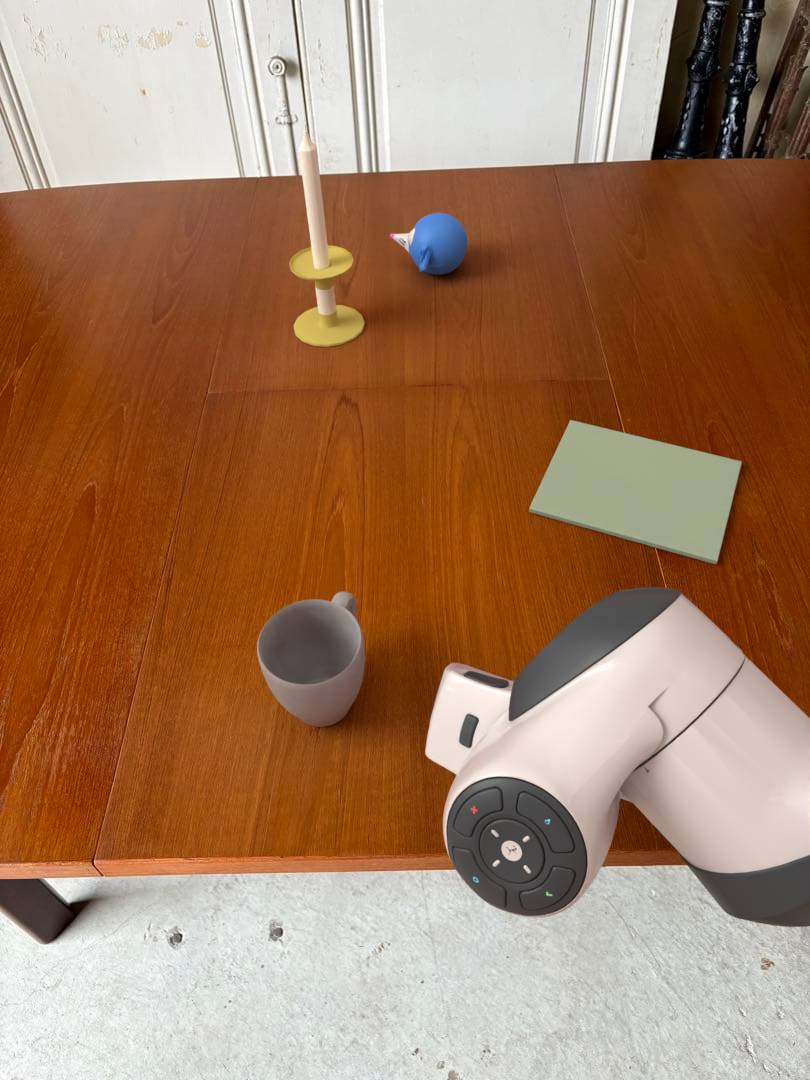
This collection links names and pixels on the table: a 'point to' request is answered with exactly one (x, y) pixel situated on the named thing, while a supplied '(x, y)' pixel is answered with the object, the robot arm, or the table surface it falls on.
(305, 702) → the mug
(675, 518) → the mat
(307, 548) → the table surface
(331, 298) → the candle
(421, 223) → the blue mole toy
